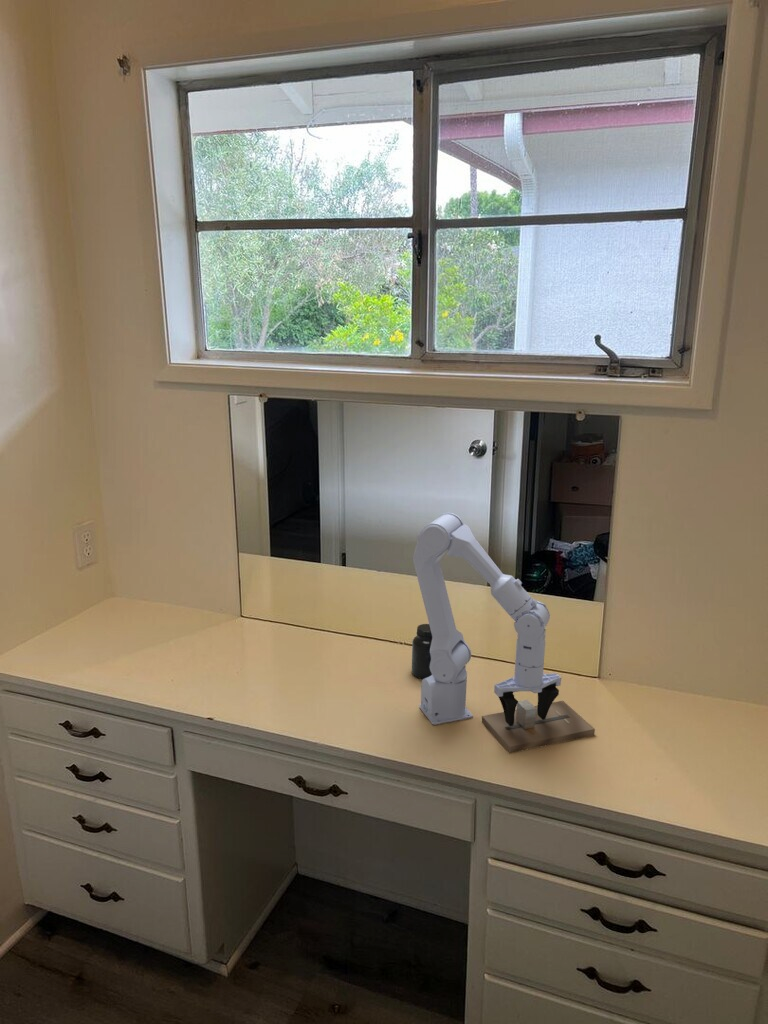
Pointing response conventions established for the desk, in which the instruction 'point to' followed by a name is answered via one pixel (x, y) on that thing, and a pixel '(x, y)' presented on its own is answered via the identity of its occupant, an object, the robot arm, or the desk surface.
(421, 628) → the supplement bottle
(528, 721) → the fader tab
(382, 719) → the desk surface
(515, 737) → the console board
